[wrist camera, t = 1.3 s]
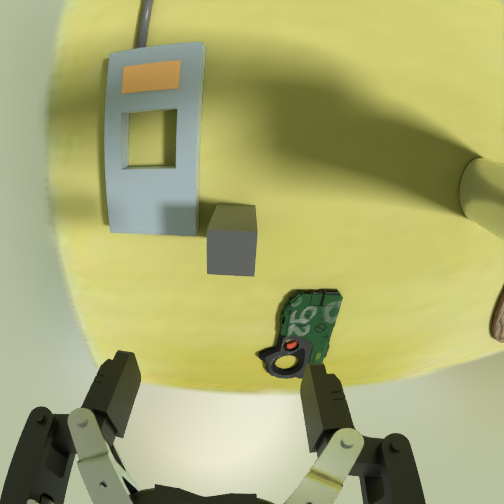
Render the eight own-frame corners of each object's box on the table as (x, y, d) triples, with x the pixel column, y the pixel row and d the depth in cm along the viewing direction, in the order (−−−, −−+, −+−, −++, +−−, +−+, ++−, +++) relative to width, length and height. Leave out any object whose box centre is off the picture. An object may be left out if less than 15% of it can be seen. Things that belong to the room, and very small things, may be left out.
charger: (255, 205, 29) (257, 232, 22) (252, 240, 31) (254, 276, 24) (217, 203, 29) (206, 229, 22) (216, 238, 31) (207, 274, 23)
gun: (267, 290, 32) (347, 293, 33) (267, 284, 34) (344, 287, 34) (256, 378, 39) (319, 378, 40) (256, 371, 41) (317, 371, 41)
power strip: (217, -40, 16) (216, -49, 14) (198, 229, 30) (195, 236, 28) (134, -28, 16) (128, -36, 14) (117, 226, 30) (109, 233, 28)
